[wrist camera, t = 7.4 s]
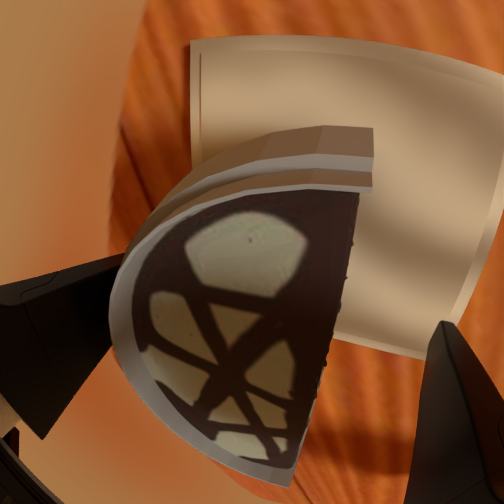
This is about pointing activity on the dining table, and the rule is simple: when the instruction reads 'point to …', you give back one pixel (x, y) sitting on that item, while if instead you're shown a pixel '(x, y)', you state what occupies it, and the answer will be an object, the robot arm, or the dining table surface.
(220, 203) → the food container
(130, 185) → the dining table surface
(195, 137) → the serving board
